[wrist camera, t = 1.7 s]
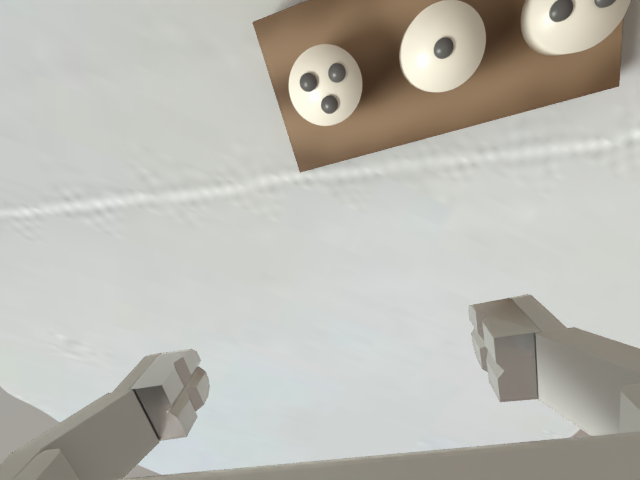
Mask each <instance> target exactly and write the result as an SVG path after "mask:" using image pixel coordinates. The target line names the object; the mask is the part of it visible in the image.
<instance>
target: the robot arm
mask: <svg viewBox="0 0 640 480" xmlns="http://www.w3.org/2000/svg"><path fill="white" fill-rule="evenodd" d="M469 319H470V321H471V323H472V324H473V326H474V330H473V331H472V333H471V335H472V342H473V347H474V350H475V354H476V357H477V359H478V362H479V364H480V366H481V368H482V369H483V370H485V371H487V372H488V378H489V383H490V384H491V386H492V388H493V390H494V392H495V394H496V395H497V397H498V399H499V401H500V402H507V401H519V400H531V399H539V401H540V402H542V403H543V404H545V405H546V406H548V407H549V408H551V409H552V410H554V411H555V412H557V413H558V414H560V415H561V416H563V417H564V418H566V419H567V420H568V421H570V422H571V423H573V424H574V425H576V426H577V427H579V428H580V429H582V430H583V431H585V432H586V433H588V434H589V435H591V436H584V437H573V438H562V439H551V440H540V441H530V442H520V443H510V444H498V445H487V446H476V447H465V448H454V449H443V450H432V451H421V452H410V453H398V454H387V455H376V456H365V457H354V458H343V459H332V460H321V461H310V462H299V463H289V464H278V465H267V466H256V467H246V468H235V469H224V470H213V471H202V472H191V473H180V474H169V475H158V476H147V477H136V478H125V479H123V478H124V477H125V476H126V475H127V474H128V473H129V472H130V471H131V470H132V469H133V468H134V467H135V466H136V465H137V464H138V463H139V462H140V461H141V460H142V459H143V458H144V457H145V456H146V455H147V454H148V453H149V452H150V451H151V450H152V449H153V448H154V447H155V446H156V445H157V444H158V443H159V441H161V440H168V439H175V438H182V437H187V435H188V433H189V431H190V430H191V428H192V426H193V424H194V422H195V420H196V418H197V413H196V411H197V410H198V409H199V408H200V407H201V406H203V405H204V403H205V401H206V399H207V397H208V394H209V387H210V386H209V379H208V376H207V374H206V372H205V371H204V370H203V369H201V368H200V367H199V364H200V361H201V360H200V357H199V355H198V353H197V351H195V350H193V349H188V350H180V351H173V352H166V353H158V354H152V355H149V356H146V357H144V358H143V359H142V360H141V361H140V362H139V364H138V365H137V366H136V367H135V368H134V369H133V370H132V371H131V372H130V373H129V375H128V376H127V377H126V378H125V379H124V380H123V381H122V382H121V383H120V384H119V385H118V387H117V388H116V389H115V390H114V391H113V392H112V393H107V394H105V395H104V396H102V397H101V398H99V399H97V400H96V401H94V402H93V403H91V404H89V405H88V406H86V407H85V408H83V409H81V410H80V411H78V412H77V413H75V414H73V415H72V416H70V417H68V418H67V419H65V420H64V421H62V422H60V423H59V424H57V425H56V426H54V427H52V428H51V429H49V430H48V431H46V432H44V433H43V434H41V435H40V436H38V437H36V438H35V439H33V440H31V441H30V442H28V443H27V444H25V445H23V446H22V447H20V448H19V449H17V450H15V451H14V452H12V453H11V454H10V455H9V456H8V457H7V458H6V459H5V460H4V461H3V462H2V463H1V464H0V480H640V349H639V348H636V347H633V346H630V345H626V344H623V343H620V342H617V341H614V340H611V339H608V338H605V337H602V336H599V335H596V334H593V333H590V332H587V331H584V330H581V329H578V328H567V327H565V326H564V325H563V324H562V323H561V322H560V321H559V320H558V319H557V318H556V317H555V316H554V315H552V314H551V313H550V312H549V311H548V310H547V309H546V308H545V307H544V306H543V305H542V304H541V303H539V302H538V301H537V300H536V299H535V298H534V297H533V296H532V295H529V294H527V295H522V296H517V297H512V298H507V299H502V300H496V301H491V302H485V303H480V304H474V305H469Z"/></svg>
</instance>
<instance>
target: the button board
mask: <svg viewBox="0 0 640 480" xmlns="http://www.w3.org/2000/svg"><path fill="white" fill-rule="evenodd" d="M439 1H443V0H308V1H305V2H303V3H300V4H298V5H295V6H292V7H290V8H287V9H285V10H282V11H280V12H277V13H275V14H272V15H269V16H267V17H264V18H262V19H259V20H257V21H254V22H253V25H254V28H255V31H256V35H257V38H258V41H259V44H260V47H261V50H262V54H263V57H264V60H265V63H266V66H267V69H268V73H269V76H270V79H271V82H272V85H273V88H274V92H275V95H276V98H277V101H278V104H279V107H280V110H281V114H282V117H283V120H284V123H285V126H286V129H287V133H288V136H289V139H290V142H291V145H292V148H293V152H294V155H295V158H296V161H297V164H298V167H299V171H300V172H303V171H307V170H311V169H314V168H318V167H322V166H325V165H329V164H333V163H337V162H340V161H344V160H348V159H351V158H355V157H359V156H362V155H366V154H370V153H374V152H377V151H381V150H385V149H388V148H392V147H396V146H400V145H403V144H407V143H411V142H414V141H418V140H422V139H425V138H429V137H433V136H437V135H440V134H444V133H448V132H451V131H455V130H459V129H462V128H466V127H470V126H474V125H477V124H481V123H485V122H488V121H492V120H496V119H500V118H503V117H507V116H511V115H514V114H518V113H522V112H525V111H529V110H533V109H537V108H540V107H544V106H548V105H551V104H555V103H559V102H562V101H566V100H570V99H574V98H577V97H581V96H585V95H588V94H592V93H596V92H600V91H603V90H607V89H611V88H614V87H618V86H619V80H620V63H621V47H622V30H623V19H622V20H621V22H620V23H619V24H618V26H617V27H616V28H615V29H614V30H613V32H612V33H611V34H610V35H608V36H607V37H606V38H605V39H604V40H602V41H601V42H600V43H598V44H596V45H595V46H593V47H591V48H589V49H586V50H584V51H580V52H576V53H570V54H563V55H556V56H548V55H543V54H540V53H537V52H536V51H534V50H533V49H531V48H530V47H529V46H528V44H527V43H526V41H525V40H524V37H523V35H522V31H521V12H522V8H523V5H524V2H525V0H458V1H462V2H465V3H467V4H468V5H470V6H471V7H473V8H474V9H475V10H476V11H477V12H478V14H479V15H480V17H481V19H482V21H483V23H484V27H485V32H486V45H485V51H484V54H483V57H482V60H481V62H480V64H479V66H478V68H477V69H476V71H475V72H474V73H473V75H472V76H471V77H470V78H469V79H468V80H467V81H465V82H464V83H463V84H461V85H460V86H458V87H456V88H454V89H452V90H449V91H445V92H427V91H422V90H419V89H417V88H415V87H414V86H413V85H411V84H410V83H409V82H408V81H407V79H406V78H405V76H404V75H403V73H402V70H401V67H400V62H399V50H400V44H401V41H402V38H403V35H404V33H405V31H406V30H407V28H408V27H409V25H410V24H411V23H412V21H413V20H414V19H415V18H416V16H417V15H418V14H419V13H420V12H421V11H423V10H424V9H425V8H427V7H428V6H430V5H432V4H434V3H436V2H439ZM320 44H331V45H335V46H338V47H340V48H342V49H344V50H345V51H347V52H348V53H349V54H350V55H351V56H352V57H353V58H354V60H355V61H356V63H357V64H358V67H359V69H360V72H361V76H362V93H361V98H360V100H359V103H358V105H357V107H356V108H355V110H354V111H353V113H352V114H351V115H350V116H349V117H348V118H346V119H345V120H344V121H342V122H340V123H338V124H335V125H330V126H320V125H316V124H313V123H311V122H309V121H307V120H306V119H304V118H303V117H302V116H301V115H300V114H299V113H298V112H297V110H296V109H295V107H294V105H293V103H292V101H291V98H290V94H289V76H290V72H291V69H292V67H293V65H294V63H295V61H296V60H297V59H298V57H299V56H300V55H301V54H302V53H303V52H304V51H306V50H307V49H309V48H311V47H313V46H316V45H320Z"/></svg>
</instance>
